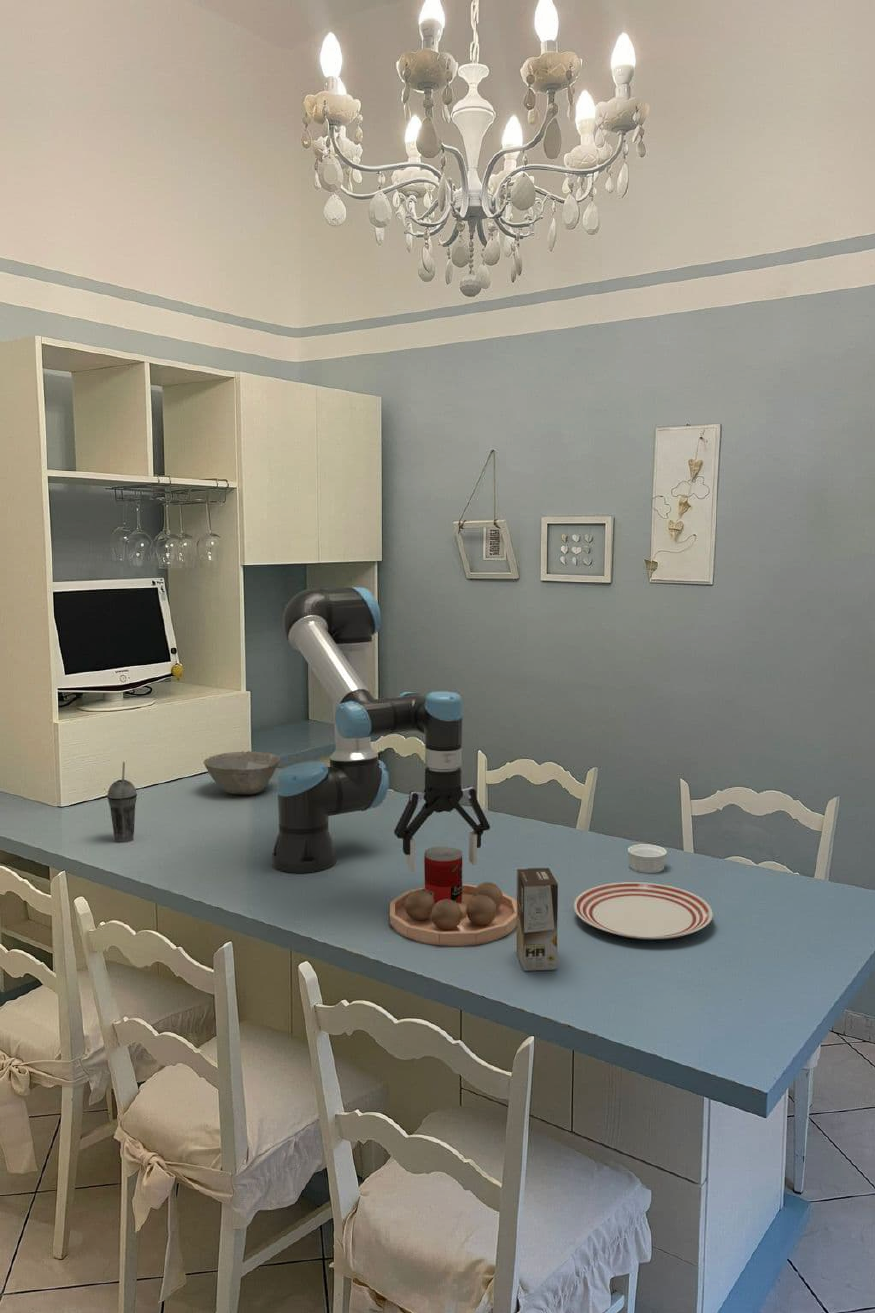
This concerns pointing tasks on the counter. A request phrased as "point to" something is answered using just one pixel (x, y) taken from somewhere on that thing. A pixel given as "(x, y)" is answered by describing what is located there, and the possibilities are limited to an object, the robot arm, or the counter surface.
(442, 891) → the canned food
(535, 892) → the coffee box
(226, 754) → the ceramic bowl
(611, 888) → the dinner plate
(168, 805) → the counter surface
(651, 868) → the ramekin
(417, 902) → the seated beads
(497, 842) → the counter surface
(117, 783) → the beverage cup
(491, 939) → the tray
